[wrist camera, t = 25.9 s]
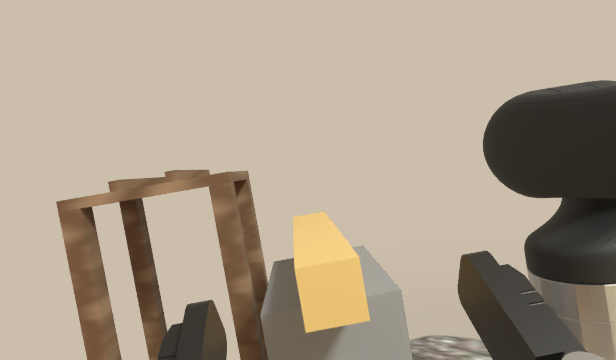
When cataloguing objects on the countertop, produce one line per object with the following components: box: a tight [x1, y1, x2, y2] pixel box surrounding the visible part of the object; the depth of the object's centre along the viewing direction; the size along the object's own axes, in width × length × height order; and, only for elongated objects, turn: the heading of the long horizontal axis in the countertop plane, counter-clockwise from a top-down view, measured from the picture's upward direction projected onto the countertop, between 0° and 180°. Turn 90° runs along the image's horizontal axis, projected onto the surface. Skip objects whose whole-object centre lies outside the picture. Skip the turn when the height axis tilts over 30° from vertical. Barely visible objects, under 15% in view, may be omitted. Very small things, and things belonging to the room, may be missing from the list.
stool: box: [56, 170, 268, 360], centre depth 43 cm, size 16×14×32 cm
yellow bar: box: [293, 212, 370, 333], centre depth 31 cm, size 4×22×4 cm, turn 2°
